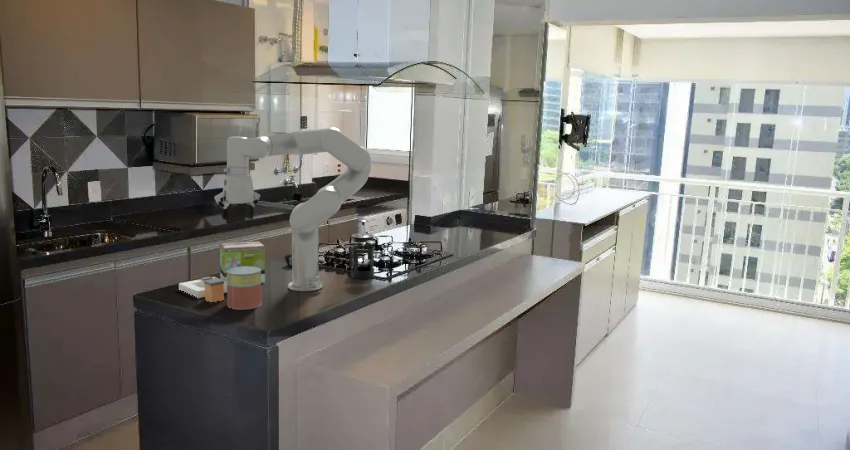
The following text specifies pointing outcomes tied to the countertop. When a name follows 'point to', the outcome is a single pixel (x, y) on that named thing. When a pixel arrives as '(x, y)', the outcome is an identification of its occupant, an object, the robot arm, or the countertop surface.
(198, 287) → the socket plate
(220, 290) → the plug
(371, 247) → the french press
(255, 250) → the tea box
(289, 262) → the can opener
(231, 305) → the canned food
